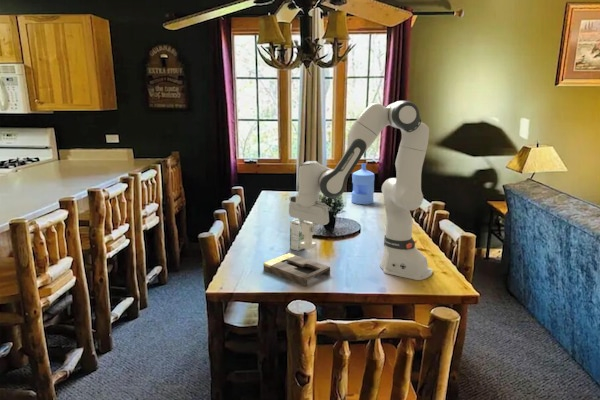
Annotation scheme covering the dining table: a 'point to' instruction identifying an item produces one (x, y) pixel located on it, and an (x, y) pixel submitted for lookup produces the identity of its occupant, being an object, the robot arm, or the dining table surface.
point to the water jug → (363, 186)
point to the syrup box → (296, 235)
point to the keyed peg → (307, 236)
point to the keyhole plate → (294, 268)
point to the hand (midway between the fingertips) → (308, 230)
